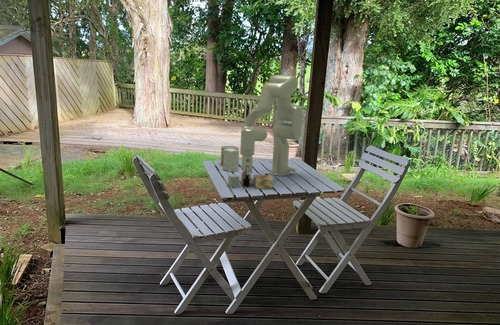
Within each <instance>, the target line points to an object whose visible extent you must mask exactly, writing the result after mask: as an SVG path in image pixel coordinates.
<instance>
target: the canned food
mask: <svg viewBox="0 0 500 325" xmlns="http://www.w3.org/2000/svg"><path fill="white" fill-rule="evenodd" d="M220 149H221V150H220V151H221V154H220V166H221V167H223V159H224V149H235V150H238V151H239V146H236V145H235V146H233V145H222V146H221V147H220Z"/></svg>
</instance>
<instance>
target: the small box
mask: <svg viewBox="0 0 500 325" xmlns="http://www.w3.org/2000/svg"><path fill="white" fill-rule="evenodd" d="M239 158H240V150H239V149H238V150H235V149H224V159H223V166H222V170H223V171H227V172H229V173H233V172H238V171H239V163H240V162H239V161H240V159H239Z"/></svg>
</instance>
